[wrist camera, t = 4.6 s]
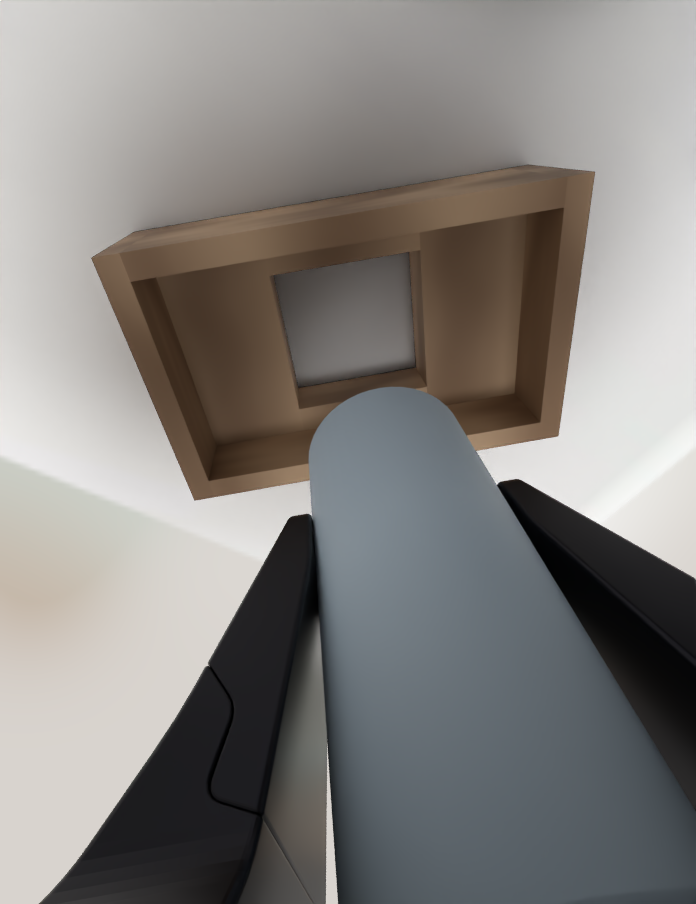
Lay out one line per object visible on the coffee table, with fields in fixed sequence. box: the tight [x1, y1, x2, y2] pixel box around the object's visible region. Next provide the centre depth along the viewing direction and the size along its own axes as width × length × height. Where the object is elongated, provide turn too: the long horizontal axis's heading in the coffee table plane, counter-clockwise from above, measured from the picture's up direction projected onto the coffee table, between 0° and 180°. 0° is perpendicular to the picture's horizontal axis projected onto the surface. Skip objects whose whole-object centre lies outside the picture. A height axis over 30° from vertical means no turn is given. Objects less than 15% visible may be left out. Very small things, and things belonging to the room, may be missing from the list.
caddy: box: [91, 165, 595, 500], centre depth 18 cm, size 15×9×4 cm, turn 98°
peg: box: [309, 387, 696, 904], centre depth 7 cm, size 4×4×8 cm
